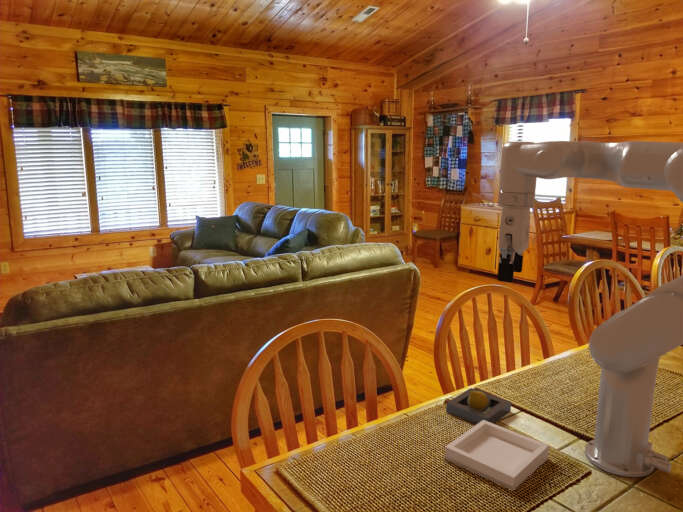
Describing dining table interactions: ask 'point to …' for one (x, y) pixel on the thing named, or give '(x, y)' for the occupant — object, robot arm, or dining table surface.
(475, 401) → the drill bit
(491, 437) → the tray
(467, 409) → the socket collar
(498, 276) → the robot arm
